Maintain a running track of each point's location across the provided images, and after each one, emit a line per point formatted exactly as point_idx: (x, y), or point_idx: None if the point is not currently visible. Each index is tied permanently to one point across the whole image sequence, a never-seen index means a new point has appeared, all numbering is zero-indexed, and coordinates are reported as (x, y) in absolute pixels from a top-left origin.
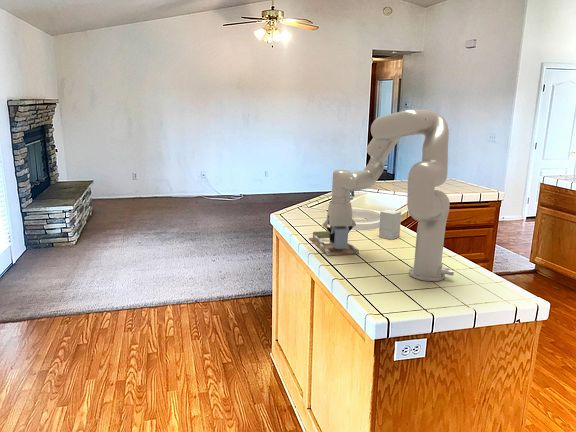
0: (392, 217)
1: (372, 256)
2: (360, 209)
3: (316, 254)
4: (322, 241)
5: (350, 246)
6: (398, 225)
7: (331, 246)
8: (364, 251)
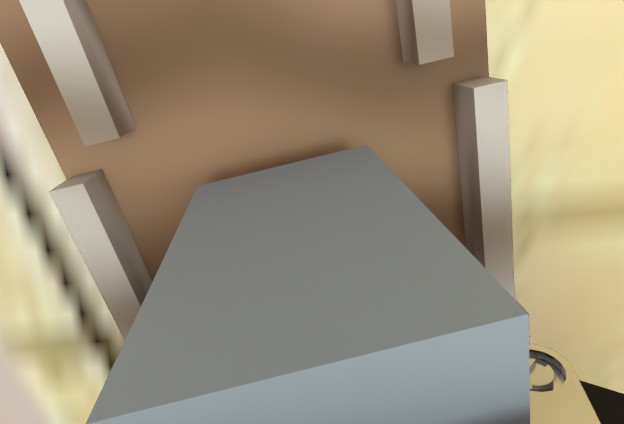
0: None
1: (589, 370)
2: None
3: (68, 373)
4: (78, 40)
5: (474, 211)
6: None
7: (238, 124)
8: (584, 247)
